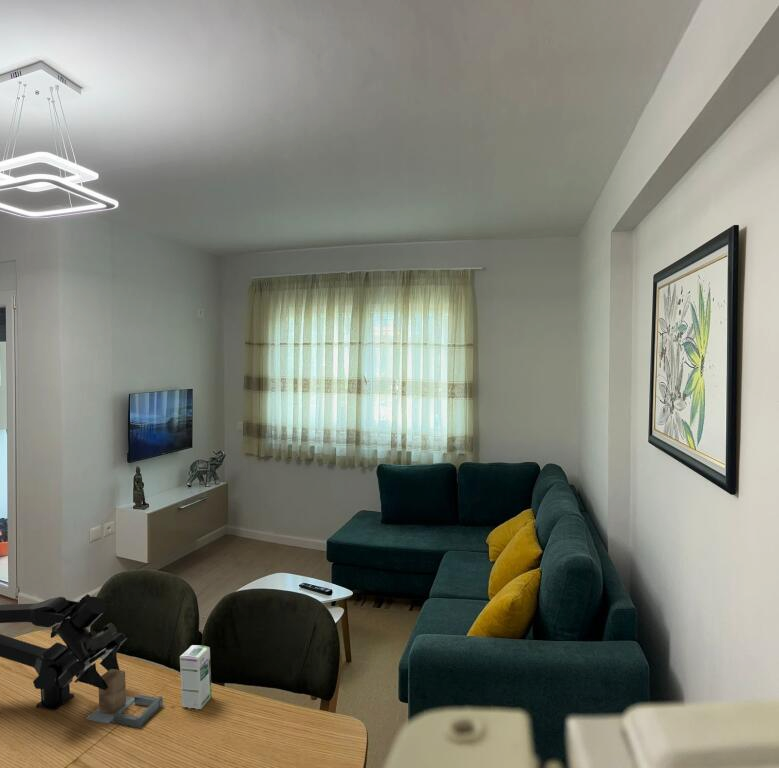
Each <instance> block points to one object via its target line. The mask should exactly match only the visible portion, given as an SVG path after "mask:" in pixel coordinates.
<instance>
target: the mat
mask: <svg viewBox="0 0 779 768" xmlns="http://www.w3.org/2000/svg"><path fill="white" fill-rule="evenodd" d="M133 703H135V701H134V697H130V696H126V704H125V705H123V706H122V707H121V708H120V709H119V710H118V711H117V712H115V713H114V714H116V713H123V712H124V711H125V710H126V709H127V708H128V707H129V706H131V705H132V704H133ZM114 714H111V713H106V712H101V711H99V707H98V708H97V709H95V711H93V712H92V713H91V714H90V715H88V716H87V717H86V718H85V719H86V720H88V721H91V722H97V723H103V724H108V725H109V724H110V723H112V721H113V715H114Z"/></svg>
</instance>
